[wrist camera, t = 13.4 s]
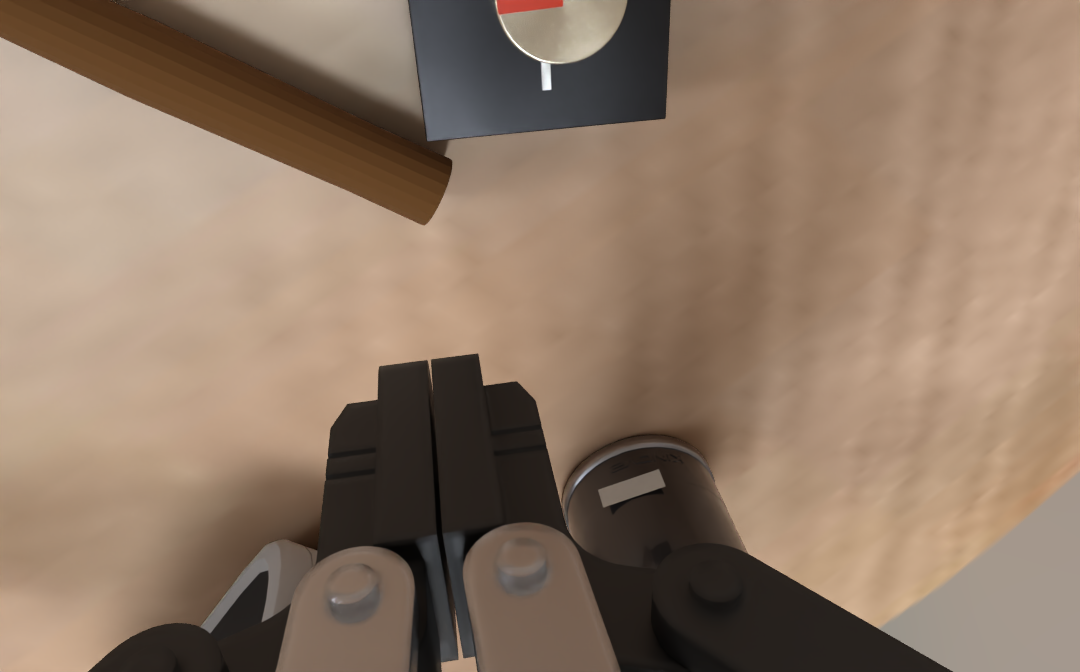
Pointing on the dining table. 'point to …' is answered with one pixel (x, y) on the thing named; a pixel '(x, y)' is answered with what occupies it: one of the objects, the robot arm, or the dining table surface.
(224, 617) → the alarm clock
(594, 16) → the dial
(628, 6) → the panel
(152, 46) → the hammer
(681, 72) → the dining table surface
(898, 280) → the dining table surface
